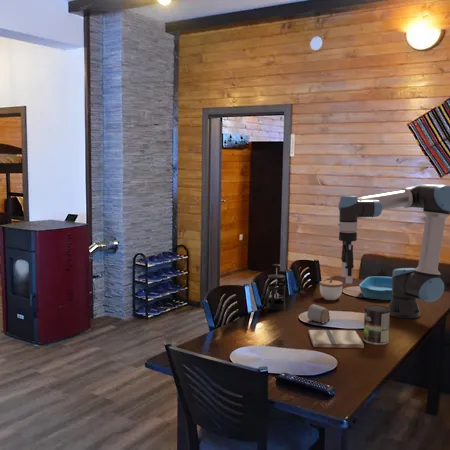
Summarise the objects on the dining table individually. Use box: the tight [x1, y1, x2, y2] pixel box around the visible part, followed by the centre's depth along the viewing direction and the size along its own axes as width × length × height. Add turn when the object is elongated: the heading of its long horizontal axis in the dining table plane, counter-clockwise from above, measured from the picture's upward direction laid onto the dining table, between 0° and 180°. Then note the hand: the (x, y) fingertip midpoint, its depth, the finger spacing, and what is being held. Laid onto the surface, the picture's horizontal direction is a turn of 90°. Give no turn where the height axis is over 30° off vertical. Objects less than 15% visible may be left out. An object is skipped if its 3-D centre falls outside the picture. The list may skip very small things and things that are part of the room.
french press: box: [266, 263, 286, 311], centre depth 270 cm, size 12×9×23 cm
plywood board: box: [308, 329, 365, 349], centre depth 219 cm, size 20×18×2 cm
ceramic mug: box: [307, 303, 331, 323], centre depth 247 cm, size 11×8×8 cm
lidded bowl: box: [319, 278, 343, 301], centre depth 290 cm, size 13×13×11 cm
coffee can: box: [362, 304, 391, 346], centre depth 218 cm, size 10×10×14 cm
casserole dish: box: [359, 275, 392, 301], centre depth 300 cm, size 37×22×7 cm, turn 154°
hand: (346, 280), depth 227 cm, fingers open, 13 cm apart
